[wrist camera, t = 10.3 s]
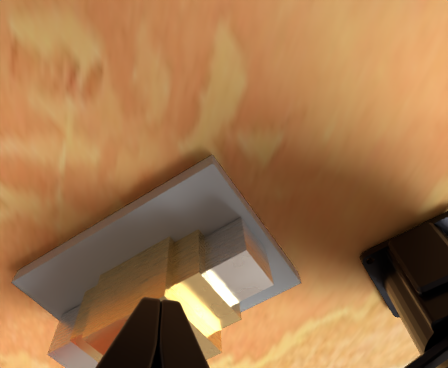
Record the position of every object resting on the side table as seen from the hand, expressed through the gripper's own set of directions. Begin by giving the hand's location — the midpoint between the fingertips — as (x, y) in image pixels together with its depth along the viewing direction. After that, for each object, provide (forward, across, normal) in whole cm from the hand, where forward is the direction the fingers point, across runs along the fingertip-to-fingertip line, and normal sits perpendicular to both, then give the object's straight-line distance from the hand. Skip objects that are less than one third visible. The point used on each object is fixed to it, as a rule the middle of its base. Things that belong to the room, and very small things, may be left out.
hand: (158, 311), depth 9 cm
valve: (+13, -1, +11) cm, 17 cm away
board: (+13, -1, +11) cm, 17 cm away
